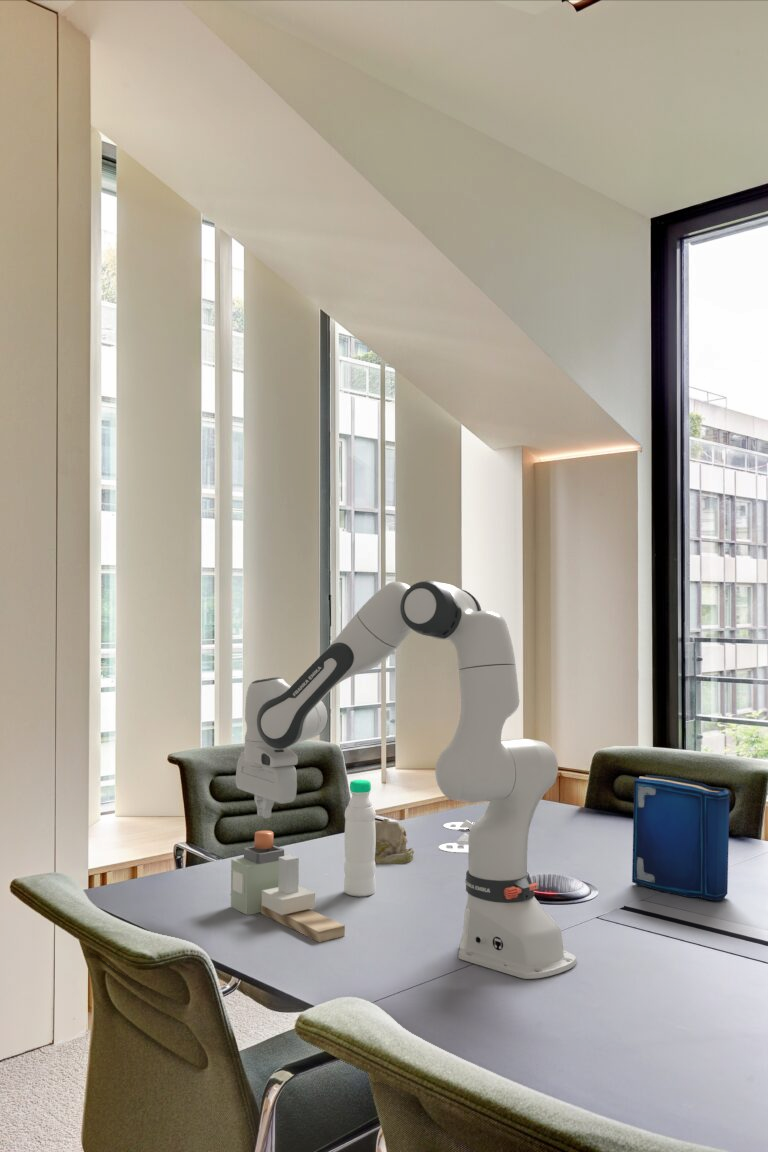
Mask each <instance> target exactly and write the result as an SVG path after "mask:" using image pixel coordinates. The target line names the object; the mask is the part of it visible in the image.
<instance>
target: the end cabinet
mask: <svg viewBox="0 0 768 1152" xmlns="http://www.w3.org/2000/svg"><path fill="white" fill-rule="evenodd" d="M288 855H290V854H289V853H286V852H285V848H282V847H280V846H277V845H274V844H273V848H270V849H257V848H255V845H254V846H247V847H244V848H243V857H237V858H231V859H230V861H231V862H230V870H231V871H230V907H231V908H233V909H235V910H236V911H239V912H241V913H243V914H245V915H247V916H249V915H254V914H257V913H261V903H262V890H266V889H271V888H276V887H278V875H279V857H282V856H288Z"/></svg>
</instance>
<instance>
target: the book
mask: <svg viewBox="0 0 768 1152" xmlns="http://www.w3.org/2000/svg"><path fill="white" fill-rule="evenodd" d="M633 780H634V781H633V783H634V784H633V785H634V786H633V821H632V822H633V828H632V829H633V831H632V867H631V868H632V870H631V878H632V879H631V882H632V883H633V884H636V885H640V886H642V887H643V886H644V887H647V888H650V889H652V890H657V891H659V892H664V893H667V894H673V895H677V896H682V897H686V898H702V899H705V900H709V901H712V902H713V901H714V902H717V901H721V900H723V899H725V898H726V896H727V895H728V882H729V881H728V879H729V876H728V875H729V872H728V871H729V841H730V840H729V839H730V838H729V837H730V836H729V831H730V830H729V829H730V795H731V794H730V791H729V790H728V789H726V788H725V789H724V788H720V787H713V786H709V785H707V784H705V783H702V782H696V781H692V780H687V779H683V778H682V779H681V778H677V777H671V776H670V777H669V776H660V775H652V774H651V775H649V774H645V776H639V778H638V777H634V779H633Z"/></svg>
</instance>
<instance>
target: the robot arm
mask: <svg viewBox="0 0 768 1152" xmlns="http://www.w3.org/2000/svg"><path fill="white" fill-rule="evenodd" d="M412 632H416V633H417V634H420V635H422V636H426V637H432V638H433V639H436V640H444V641H445V640H446V641H447V640H449V641H450V642H451V643H452V644H453V646H454V647H455V651H456V655H457V666H458V668H457V669H458V675H459V676H458V678H459V689H460V690H459V692H460V715H459V721H458V724H457V727H456V731H455V733H454V734H453V735H454V736H453V737H452V739H451V741H450V742H449V744H448V745H447V747H445V748H444V750H443V751H441V753H440V755H439V756H438V758H437V761H436V765H435V780H436V783H437V784H436V785H437V786H438V788H439V790H440V791H441V793H442V794H443V796H445V797H446V798H447V799H449V800H452V801H459V802H465V803H479V802H487V801H489V803H488V806H487V808H486V810H485V811H484V813H483V815H482V816H480V817H479V819H477V820H476V821H475V822H473V823H474V824H473V825H472V827H471V829H470V831H469V830H468V831H469V832H468V835H469V836H468V853H467V854H468V855H467V856H468V869H467V871H466V873H465V881H464V882H465V891H466V893H467V900H466V905H465V910H464V919H463V926H462V935H461V939H460V942H459V950H458V959H460V960H462V961H465V962H468V963H472V964H474V965H478V966H481V967H485V968H488V969H491V970H493V971H498V972H501V973H504V974H507V975H511V976H514V977H517V978H520V979H523V980H526V979H527V980H531V979H532V980H533V979H541V978H547V977H551V976H554V975H557V974H561V973H563V972H567V971H568V970H570V969H573V968H574V967H575V966H576V965H577V964H578V963H577V962H578V961H577V956H576V955H574V954H573V953H570V952H569V951H567V950H565V949H564V941H563V940H564V939H563V934H562V930H561V927H560V926H559V925H558V923H557V922H556V921H555V920H554V919H553V918H552V917H551V915H550V914H549V913H548V911H547V910H546V909H545V908H544V907H543V906H542V905H541V903H540V902H539V900H537V898H536V897H535V890H538V889H539V887H537V886H538V885H539V882H534V883H533V882H532V879H531V877H530V874H529V873H528V846H529V845H528V844H529V833H530V828H531V824H532V821H533V818H534V815H535V812H536V810H537V808H538V805H539V804H540V801H541V800H542V798H543V797H544V795H545V794H546V793H547V792H548V791H549V790H550V789H551V788H552V787H553V785H554V784H555V782H556V781H557V777H558V774H559V762H558V758H557V756H556V753H555V752H554V750H553V748H552V747H551V746H550V745H549V744H548V743H546V742H544V741H541V740H537V739H531V738H522V737H520V738H511V739H502V733H503V727H504V725H505V723H506V721H507V720H508V718H510V717H512V716H513V715H514V714H515V713H516V711H517V710H518V708H519V705H520V694H519V693H520V692H519V685H518V675H517V666H516V659H515V658H516V657H515V653H514V647H513V642H512V638H511V635H510V630H509V627H508V624H507V622H506V620H505V618H504V617H503V616H502V614H501V615H500V614H499V613H496V612H494V611H491V610H490V611H489V610H482V607H481V604H480V602H479V601H478V600H477V599H476V597H475V596H474V595H473V594H472V593H470V592H468V591H467V590H466V589H461V588H458V587H457V586H455V585H453V584H450V583H446V582H441V581H440V582H438V581H437V580H422V581H419V582H416V583H414V584H412V585H411V586H410V585H409V584H407V583H405V582H401V581H391V582H388V583H387V584H385V585H384V586H383V587H382V588H381V589H379V590H378V591H377V592H376V593H374V594H373V595H372V596H371V597H370V598H369V599H368V600H367V601H366V602H365V603H364V604H363V605H362V606H361V607H360V608H359V610H358V611H357V612H356V613H355V615H354V616H353V617H351V619H350V620H349V622H348V623H347V624H346V626H345V627H344V628H343V629H342V631H340V633H339V634H338V635H337V636H336V638H335V639H334V640H333V641H332V642H331V644H329V646H328V647H327V648H326V649H325V651H323V652H322V654H321V655H320V656H319V657H317V659H316V660H315V661H314V662H312V664H311V665H310V666H309V667H308V668H307V669H306V670H305V671H304V672H303V673H302V674H301V676H299V677H298V679H297V680H296V681H295V682H294V683H293V684H292V685H290V684H288V683H287V682H286V680H285V679H283V677H278V676H277V677H269V678H263V679H262V678H261V679H257V680H256V679H255V680H254V681H252V682H251V683H250V684H249V686H248V687H247V691H246V697H245V708H244V709H245V711H244V712H245V713H244V716H245V717H244V721H245V725H246V732H245V735H244V748H243V749H242V751H240V754H239V755H240V756H239V757H238V759H237V763H236V773H235V785H236V788H237V789H238V790H240V791H243V792H246V793H250V794H252V795H253V797H254V802H255V805H256V815H257V816H258V817H262V818H264V819H270V818H272V817H271V816H272V809H273V806H274V805H275V803H278V804H287V803H294V801H295V799H296V797H297V789H298V784H297V782H298V776H297V775H298V774H297V770H296V767H295V766H296V765H298V763H299V756H298V755H297V754H296V752H294V751H293V750H292V749H291V748H290V746H292V745H295V744H297V743H300V742H304V741H307V740H309V739H313V738H316V737H317V736H319V735H320V734H322V733H323V732H324V731H325V729H326V727H327V726H328V721H329V714H328V713H329V711H328V709H327V706H326V704H325V702H324V701H323V699H324V698H325V697H326V696H327V695H328V694H329V693H330V691H332V690H333V689H334V688H335V687H336V686H337V685H339V684H340V683H342V682H343V681H345V680H347V679H349V678H351V677H353V676H356V675H359V674H361V673H365V672H367V671H371V670H372V669H375V668H376V667H377V666H379V665H381V664H382V663H383V662H384V661H385V660H387V659H388V657H390V656H391V655H392V654H393V653H394V652H395V651H396V649H398V647H399V646H401V644H402V643H403V641H404V640H405V639H406V638H407V637H408V636H409V635H411V633H412Z"/></svg>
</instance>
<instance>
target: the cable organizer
mask: <svg viewBox="0 0 768 1152" xmlns="http://www.w3.org/2000/svg"><path fill="white" fill-rule="evenodd" d="M473 823H474V822H472V823H471V821H469V820H468V819H465V821H464V822H463V821H462V822H461V821H453V822H447V823H444V824H443V828H444V829H448V830H451V829H452V830H453V831H460V830H459V829H464V830H463V831H467V830H466V829H469V830H470V829H471V827H472V825H473ZM469 830H468V831H469ZM468 836H469V834H467V833H463V834H462V835H461V836H460V837H459V838H458V839H457V840H456V842H447V843H443V844H440V845H439V846H438V849H439V850H441V851H443V852H446V851H447V853H454V852H456V853H457V854H458V853H459V854H460V853H461V854H468ZM458 842H466V843H458ZM447 847H452V848H447ZM458 847H463V848H458Z"/></svg>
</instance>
